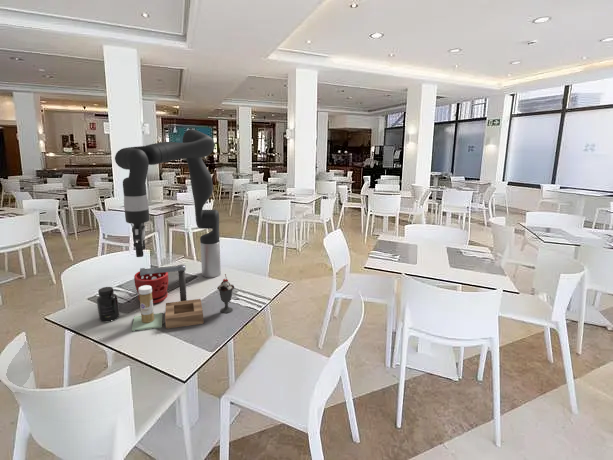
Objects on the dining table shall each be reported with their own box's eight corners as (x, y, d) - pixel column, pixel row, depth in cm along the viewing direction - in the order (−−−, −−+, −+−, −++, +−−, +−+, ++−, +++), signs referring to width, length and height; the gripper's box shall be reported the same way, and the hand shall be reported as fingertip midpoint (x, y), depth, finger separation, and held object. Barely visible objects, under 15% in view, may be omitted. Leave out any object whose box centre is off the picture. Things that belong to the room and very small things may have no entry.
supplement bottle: (100, 315, 138) (96, 286, 135) (120, 312, 141) (116, 284, 138) (98, 323, 132) (94, 294, 129) (118, 320, 135) (115, 291, 132)
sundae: (228, 304, 149) (227, 271, 145) (238, 310, 145) (237, 276, 141) (214, 309, 145) (213, 275, 141) (223, 315, 140) (222, 280, 136)
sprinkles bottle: (139, 323, 132) (135, 289, 128) (144, 317, 136) (141, 284, 133) (151, 323, 132) (148, 290, 128) (156, 317, 136) (153, 284, 133)
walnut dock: (166, 305, 147) (164, 270, 143) (200, 301, 152) (198, 267, 148) (165, 328, 130) (162, 289, 126) (203, 323, 134) (201, 285, 130)
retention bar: (185, 268, 145) (185, 263, 145) (185, 271, 142) (185, 266, 142) (140, 272, 140) (140, 268, 139) (140, 275, 137) (139, 271, 136)
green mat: (134, 318, 137) (134, 316, 137) (162, 314, 140) (162, 312, 140) (131, 331, 128) (131, 329, 127) (161, 327, 131) (161, 325, 131)
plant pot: (129, 302, 150) (126, 275, 146) (155, 290, 161) (153, 265, 158) (151, 309, 144) (148, 282, 141) (176, 297, 155) (174, 271, 152)
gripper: (147, 211, 117) (151, 258, 121) (149, 203, 130) (153, 246, 134) (121, 213, 115) (126, 260, 119) (126, 204, 128) (131, 247, 132)
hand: (141, 252), depth 127 cm, fingers open, 8 cm apart
